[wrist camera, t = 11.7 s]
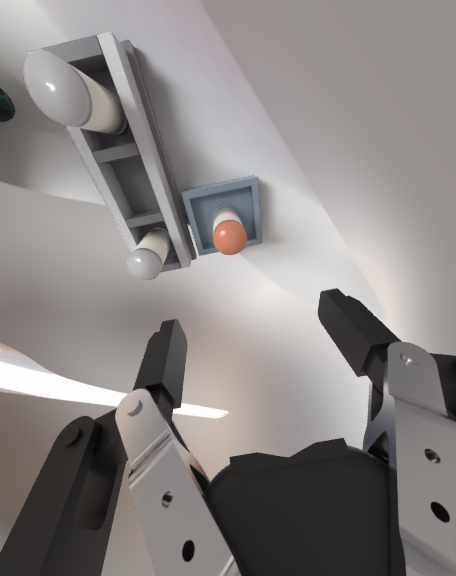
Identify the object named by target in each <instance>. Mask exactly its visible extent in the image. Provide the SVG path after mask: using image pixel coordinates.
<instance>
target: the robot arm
mask: <svg viewBox="0 0 456 576" xmlns="http://www.w3.org/2000/svg"><path fill="white" fill-rule="evenodd" d="M318 317H319V320H320V322H321V323H322V325H323V326H324V328H325V329H326V331H327V332H328V334H329V335H330V337H331V338H332V340H333V341H334V343H335V344H336V345H337V347H338V348H339V350H340V352H341V353H342V355H343V356H344V357H345V359H346V360H347V362H348V363H349V365H350V366H351V368H352V369H353V371H354V372H355V374H356V375H357V377H360V376H366V375H367V376H368V377H369V379H370V380H371V381H370V385H369V403H368V420H367V427H366V431H365V435H364V440H363V450H360V449H358V448H354V447H351V446H347V444H346V442H345V440H344V438H340V439H334V440H329V441H323V442H316V443H314V444H312V445H310V446H308V447H307V448H305V449H303V450H301V451H300V452H298V453H296V454H294V455H293V456H291V457H280V456H275V455H269V454H263V453H251V454H245V455H239V456H234V457H230V465H228V466H226V467H225V468H224V469H222V470H221V471H220V472H219V473H218V474H217V475H216V476H215V477H214V478H213V480H212V481H211V482H210V480H209V478H208V477H207V475H206V473H205V472H204V470H203V468H202V467H201V465H200V464H199V462H198V461H197V460H196V458H195V457H194V455H193V454H192V452H191V451H190V449H189V447H188V445H187V443H186V442H185V440H184V438H183V437H182V435H181V433H180V431H179V430H178V428H177V426H176V425H175V423H174V421H173V419H172V413H173V409H175V408H181V400H182V391H183V380H184V372H185V362H186V352H187V340H186V336H185V334H184V332H183V330H182V328H181V326H180V323H179V321H178V320H177V319H173V320H167V321H163V322H162V324H161V328H160V331H159V332H155V333H154V334H153V336H152V337H151V338H150V340H149V342H148V344H147V348H146V352H145V354H144V359H143V360H142V363H141V367H140V370H139V373H138V376H137V379H136V382H135V386H134V388H133V391H132V392H130V393H129V394H128V395H126V396H125V397H124V398H123V400H122V401H121V402H120V404H119V405H118V408H116V409H114V410H113V411H111V412H109V413H107V414H105V415H103V416H101V417H99V418H97V419H95V420H94V419H92V418H91V417H88V416H82V417H79V418H77V419H75V420H74V421H72V422H71V423H69V424H68V425H67V426H66V427H65V428H64V429H63V430H62V432H61V433H60V434H59V436H58V437H57V439H56V441H55V442H54V444H53V446H52V449H51V450H50V453H49V455H48V457H47V459H46V461H45V463H44V465H43V467H42V469H41V471H40V473H39V475H38V477H37V479H36V481H35V483H34V485H33V487H32V489H31V491H30V493H29V495H28V498H27V500H26V502H25V504H24V506H23V508H22V510H21V512H20V514H19V516H18V518H17V520H16V522H15V524H14V526H13V528H12V530H11V532H10V534H9V536H8V538H7V540H6V542H5V544H4V546H3V549H2V550H1V552H0V576H101V572H102V568H103V563H104V559H105V554H106V550H107V545H108V540H109V536H110V531H111V527H112V523H113V518H114V514H115V509H116V505H117V500H118V496H119V491H120V487H121V482H122V477H123V473H124V469H125V464H126V461H128V460H129V463H130V466H131V473H130V474H129V477H128V481H129V487H130V491H131V494H132V497H133V501H134V504H135V508H136V511H137V514H138V518H139V521H140V524H141V527H142V531H143V534H144V537H145V541H146V544H147V548H148V551H149V554H150V557H151V561H152V564H153V567H154V571H155V574H156V576H456V356H452V355H442V354H432V353H428V352H427V351H426V350H424V349H422V348H421V347H419V346H417V345H414V344H411V343H407V342H402V341H401V340H399V339H398V338H397V337H396V336H395V335H394V334H393V333H392V332H391V331H390V330H389V329H388V328H387V327H386V326H385V325H384V324H383V323H382V322H381V321H380V320H379V319H378V318H377V317H376V316H374V314H372V313H371V312H370V311H369V310H367V308H366V307H365V306H364V305H363V304H362V303H361V302H360V301H358V300H356V299H355V298H353V297H351V296H345V295H344V294H343V293H342V292H341V291H340V290H339V289H337V288H336V289H331V290H325V291H322V292H321V294H320V300H319V307H318Z"/></svg>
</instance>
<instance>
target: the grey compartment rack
mask: <svg viewBox="0 0 456 576" xmlns="http://www.w3.org/2000/svg"><path fill="white" fill-rule="evenodd" d="M38 50H44V51H48V52H50V53H53V54H54V55H56V56H58V57H59V58H61V59H62V60H64V61H65V62H67V63H68V64H70V65H71V66H73V67H74V68H76V69H78V70H79V71H81V72H82V73H84V74H85V75H87V76H88V77H90V78H91V79H93V80H94V81H96V82H97V83H99V84H100V85H102V86H104V87H105V88H107V89H108V90H110V91H111V92H113V93H114V94H116V95H117V96H118V97H119V98H120V100H121V103H122V105H123V108H124V111H125V114H126V116H127V119H128V122H129V126H128V129H127V131H126V132H125V133H124V134H122V135H119V136H115V135H110V134H106V133H101V132H96V131H92V130H87V129H82V128H78V127H73V126H68V125H65V127H66V128H67V130H68V132H69V134H70V136H71V138H72V140H73V142H74V144H75V146H76V148H77V150H78V152H79V153H80V155H81V157H82V159H83V161H84V163H85V165H86V167H87V169H88V171H89V173H90V175H91V177H92V178H93V180H94V182H95V184H96V186H97V188H98V190H99V192H100V194H101V196H102V198H103V200H104V202H105V203H106V205H107V207H108V209H109V211H110V213H111V215H112V216H113V219H114V221H115V223H116V225H117V226H118V228H119V230H120V232H121V234H122V236H123V238H124V240H125V242H126V244H127V246H128V248H129V250H130V251H131V253H132V252H133V250H134V249H135V248H136V247H137V245H138V244H139V243H140V242H141V240H142V239H143V238H144V237H145V236H146V234H147V233H148V232H149V231H150V229H151V228H153V227H155V226H163V227H165V228H167V229H168V231H169V234H170V236H171V239H172V242H173V243H172V245H171V248H170V250H169V252H168V255H167V257H166V259H165V262H164V264H163V266H162V269H161V271H160V272H165V271H169V270H175V269H180V268H185V267H189V266H190V264H191V260H194V259H196V252H195V249H194V246H193V243H192V239H191V236H190V233H189V229H188V226H187V223H186V219H185V216H184V213H183V209H182V206H181V203H180V199H179V196H178V193H177V190H176V186H175V183H174V180H173V176H172V173H171V170H170V166H169V163H168V160H167V156H166V153H165V150H164V147H163V143H162V140H161V137H160V133H159V130H158V127H157V123H156V120H155V117H154V113H153V110H152V107H151V104H150V100H149V97H148V94H147V90H146V87H145V84H144V80H143V77H142V74H141V70H140V67H139V64H138V61H137V57H136V54H135V51H134V47H133V45H132V44H131V42H130V41H129V40H126V41H122V42H119V41H118V40H117V39H116V37H115V36H114V35H113V33H112V32H111V31H110V32H106V33H102V34H98V35H97V36H96V35H94V36H90V37H86V38H82V39H78V40H74V41H70V42H66V43H62V44H58V45H54V46H50V47H46V48H42V49H38ZM34 51H36V50H34ZM31 52H33V51H30V52H27V54H28V55H29V54H30V53H31Z"/></svg>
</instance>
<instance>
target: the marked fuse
mask: <svg viewBox="0 0 456 576" xmlns="http://www.w3.org/2000/svg"><path fill="white" fill-rule="evenodd" d="M213 240H214V245H215V247H216V248H217V250H218V251H219V252H221V253H223V254H226V255H233V254H237V253H239V252H240V251H241V250H242V249H243V248H244V247H245V245H246V242H247V234H246V232H245V229H244V227H243V225H242V223H241V221H240V219H239V216H238V214H237V212H236V210H235V209H234V208H233V207H232V206H231V205H228V204H222V205H220V206H218V207H217V208H216V209H215V210H214V213H213Z"/></svg>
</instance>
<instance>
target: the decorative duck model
mask: <svg viewBox="0 0 456 576" xmlns="http://www.w3.org/2000/svg"><path fill="white" fill-rule="evenodd" d="M14 114H15V108H14V105H13V103H12V101H11V99H10V98H9V97H8V95H7V94H6V93H5V92H4V91H3V90H2V89H1V88H0V122H6V121H9V120H10V119H12V118H13V116H14Z"/></svg>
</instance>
